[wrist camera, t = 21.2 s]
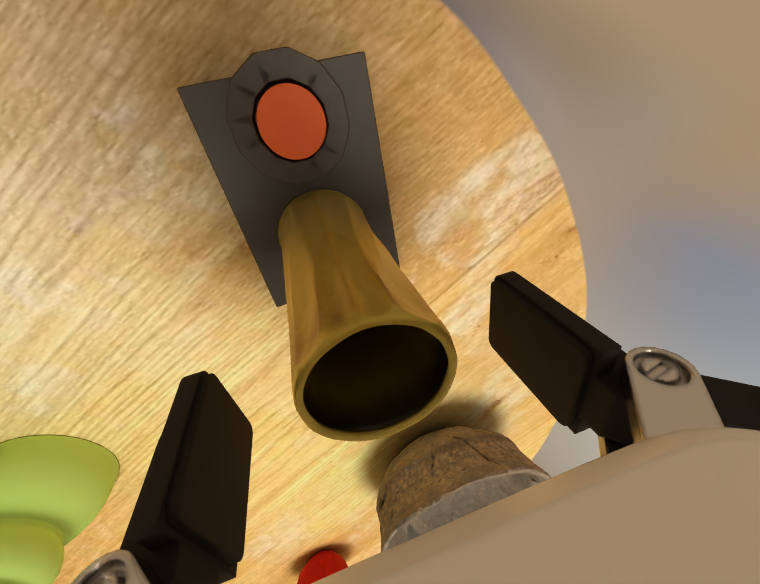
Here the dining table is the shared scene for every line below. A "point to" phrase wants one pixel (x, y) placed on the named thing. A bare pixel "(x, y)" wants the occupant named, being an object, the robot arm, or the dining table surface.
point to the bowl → (449, 480)
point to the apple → (321, 567)
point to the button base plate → (282, 175)
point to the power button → (291, 121)
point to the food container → (48, 501)
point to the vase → (356, 326)
